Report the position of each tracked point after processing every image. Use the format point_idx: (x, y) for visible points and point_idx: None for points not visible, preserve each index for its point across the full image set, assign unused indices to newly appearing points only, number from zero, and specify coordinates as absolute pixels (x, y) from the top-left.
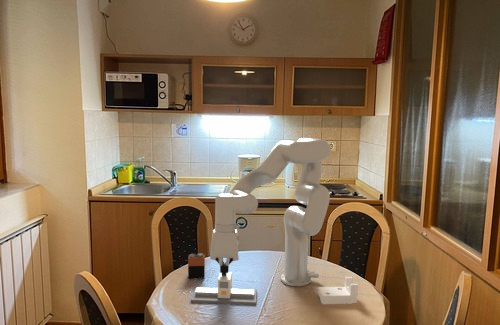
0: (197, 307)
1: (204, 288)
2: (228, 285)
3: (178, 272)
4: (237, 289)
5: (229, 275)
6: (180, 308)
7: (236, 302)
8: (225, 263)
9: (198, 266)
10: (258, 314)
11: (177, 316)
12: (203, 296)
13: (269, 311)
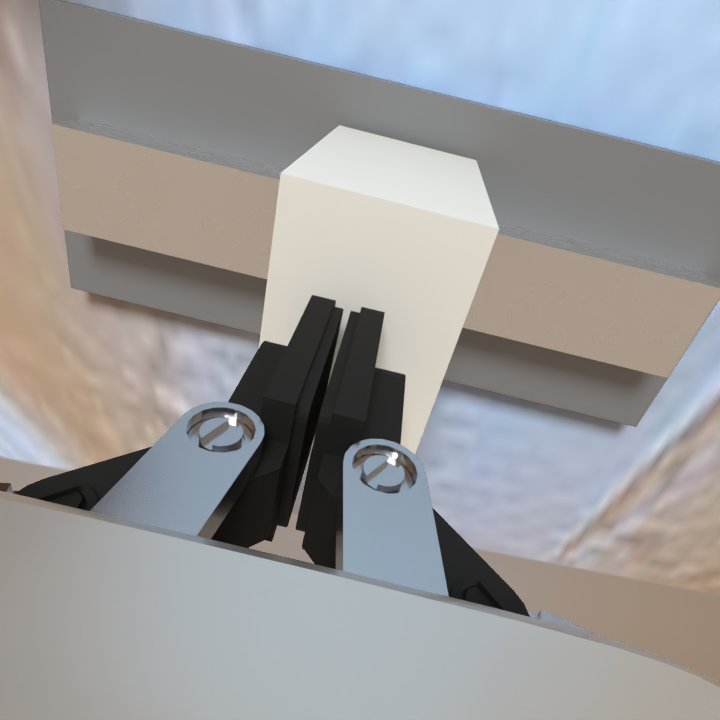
0: (158, 361)
1: (146, 166)
2: None
3: None
4: (528, 251)
5: (423, 356)
6: (39, 352)
7: (468, 379)
8: (311, 557)
9: None
10: (586, 516)
11: (56, 435)
12: None
13: (686, 504)
